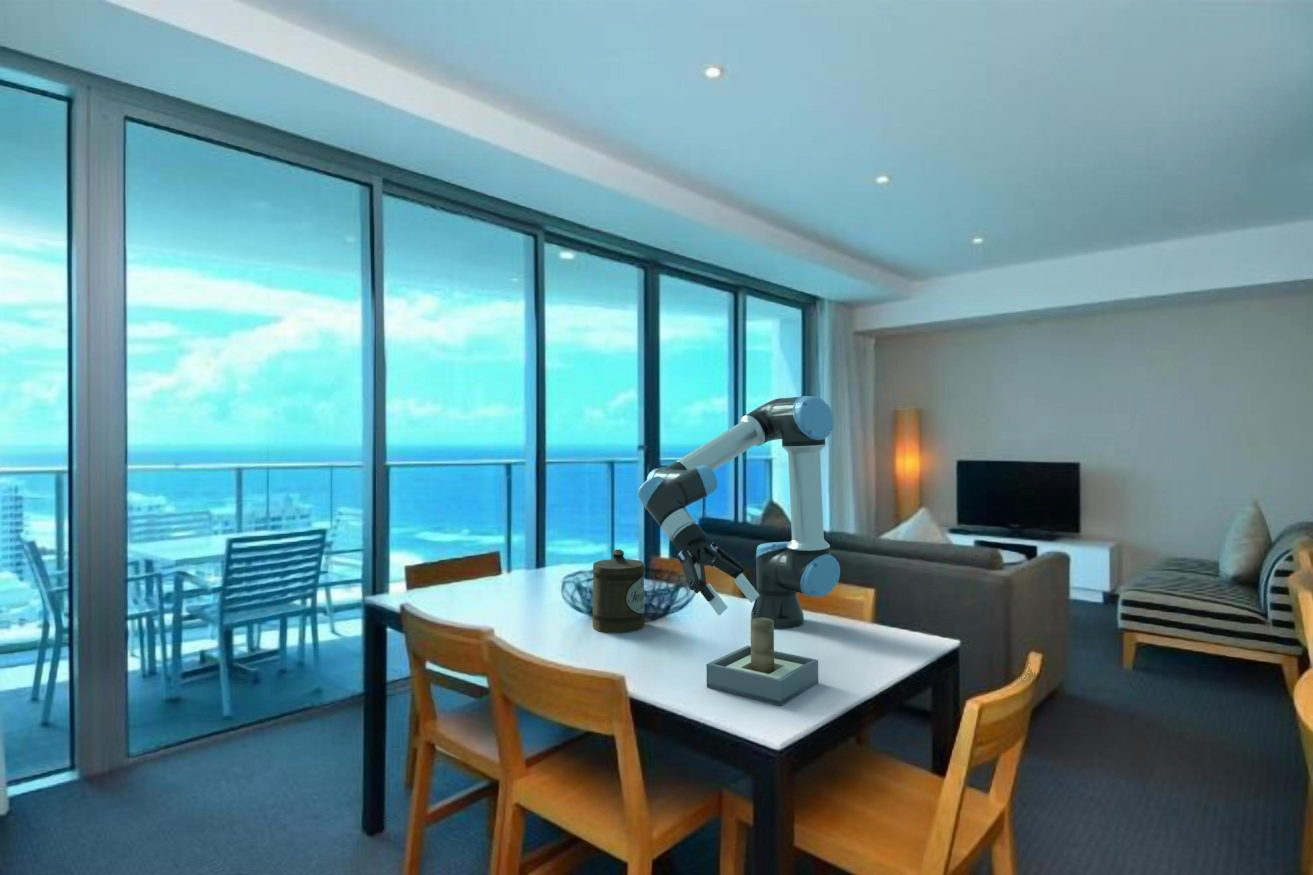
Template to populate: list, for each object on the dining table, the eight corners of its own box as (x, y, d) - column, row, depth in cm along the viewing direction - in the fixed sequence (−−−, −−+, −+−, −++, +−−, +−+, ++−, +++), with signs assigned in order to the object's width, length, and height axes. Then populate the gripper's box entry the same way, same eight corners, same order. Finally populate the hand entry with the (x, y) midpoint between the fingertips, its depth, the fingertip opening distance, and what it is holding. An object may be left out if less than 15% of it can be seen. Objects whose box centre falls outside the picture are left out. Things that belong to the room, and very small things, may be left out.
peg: (758, 674, 159) (758, 616, 159) (778, 679, 156) (777, 619, 156) (746, 680, 155) (746, 621, 155) (767, 685, 152) (766, 624, 152)
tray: (747, 666, 168) (747, 645, 168) (818, 682, 157) (818, 659, 157) (706, 687, 155) (706, 664, 155) (780, 706, 144) (780, 681, 144)
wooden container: (643, 633, 197) (642, 553, 197) (590, 633, 197) (589, 554, 197) (645, 619, 212) (644, 545, 212) (595, 619, 212) (594, 545, 212)
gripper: (705, 536, 180) (757, 604, 171) (642, 550, 160) (698, 627, 151) (722, 516, 177) (777, 584, 167) (660, 528, 157) (718, 606, 148)
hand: (739, 605), depth 159 cm, fingers open, 13 cm apart
